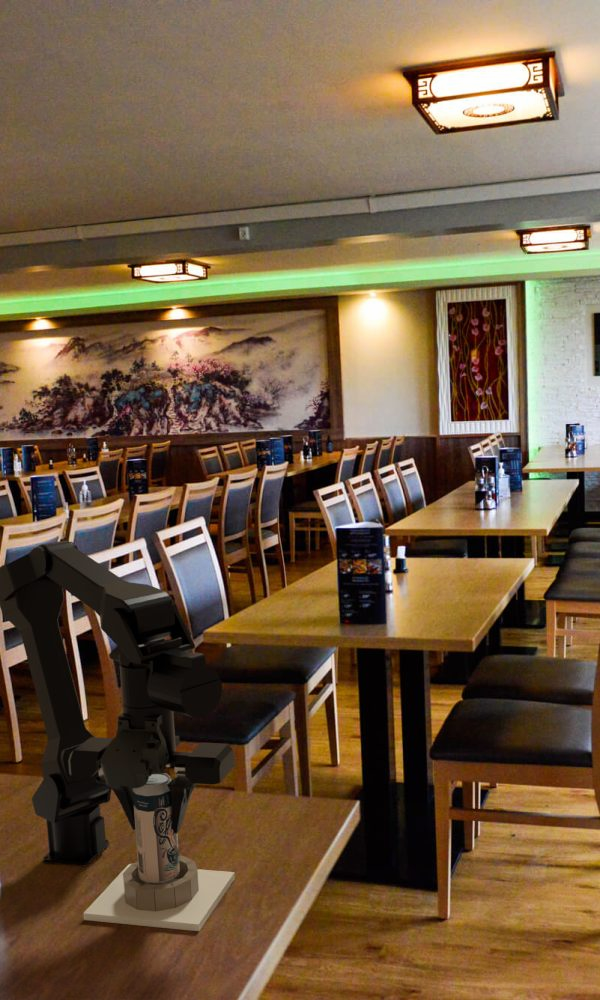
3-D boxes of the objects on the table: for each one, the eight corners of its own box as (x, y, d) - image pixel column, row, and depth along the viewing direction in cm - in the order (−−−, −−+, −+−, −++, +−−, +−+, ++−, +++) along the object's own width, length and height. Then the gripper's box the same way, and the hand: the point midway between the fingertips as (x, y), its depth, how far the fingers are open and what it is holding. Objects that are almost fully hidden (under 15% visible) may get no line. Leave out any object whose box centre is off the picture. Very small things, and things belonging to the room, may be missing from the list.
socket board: (84, 919, 111) (81, 892, 110) (129, 869, 122) (127, 844, 122) (198, 931, 107) (197, 902, 107) (234, 878, 118) (233, 852, 118)
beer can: (172, 888, 112) (166, 787, 110) (133, 886, 112) (126, 786, 111) (185, 868, 116) (178, 771, 115) (147, 866, 117) (140, 770, 116)
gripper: (38, 720, 107) (49, 856, 109) (197, 727, 102) (206, 869, 104) (86, 690, 118) (96, 814, 119) (232, 695, 113) (240, 824, 114)
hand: (156, 830), depth 114 cm, fingers closed on beer can, 5 cm apart
